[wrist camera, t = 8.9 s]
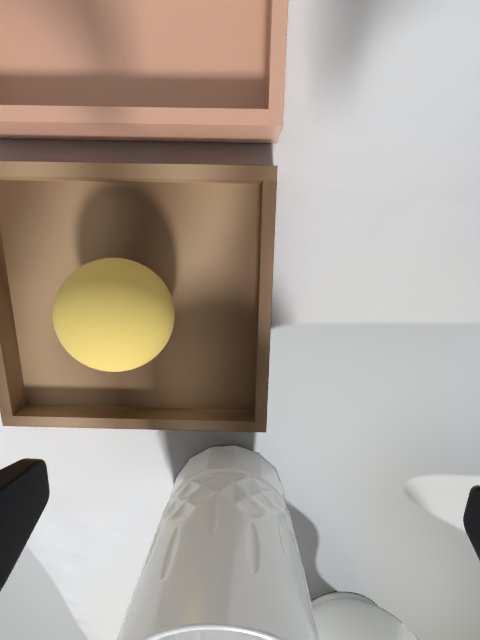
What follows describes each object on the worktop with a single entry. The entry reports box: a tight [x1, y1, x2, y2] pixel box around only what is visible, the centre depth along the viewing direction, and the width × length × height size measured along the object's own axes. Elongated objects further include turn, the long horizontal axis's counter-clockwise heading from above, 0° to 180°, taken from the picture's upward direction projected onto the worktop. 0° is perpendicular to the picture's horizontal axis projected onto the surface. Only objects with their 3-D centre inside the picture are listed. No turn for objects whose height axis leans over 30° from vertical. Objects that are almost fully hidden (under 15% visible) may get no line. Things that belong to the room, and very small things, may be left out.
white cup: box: [117, 445, 320, 640], centre depth 16 cm, size 8×8×10 cm
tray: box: [0, 161, 277, 432], centre depth 17 cm, size 14×13×2 cm
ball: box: [53, 258, 175, 372], centre depth 15 cm, size 5×5×5 cm
